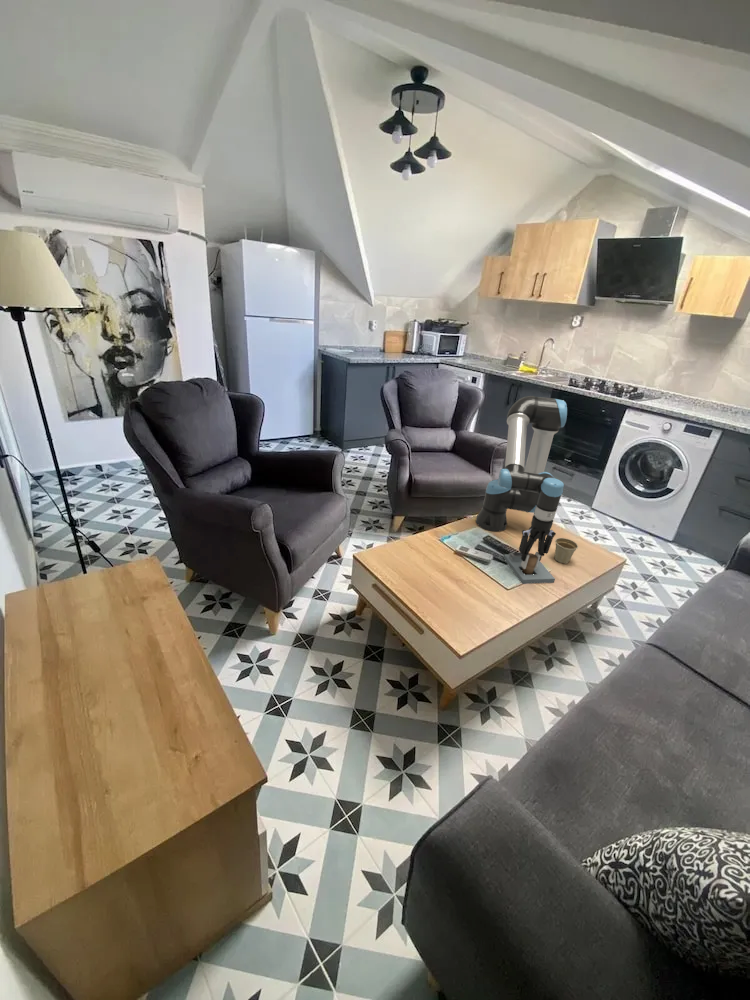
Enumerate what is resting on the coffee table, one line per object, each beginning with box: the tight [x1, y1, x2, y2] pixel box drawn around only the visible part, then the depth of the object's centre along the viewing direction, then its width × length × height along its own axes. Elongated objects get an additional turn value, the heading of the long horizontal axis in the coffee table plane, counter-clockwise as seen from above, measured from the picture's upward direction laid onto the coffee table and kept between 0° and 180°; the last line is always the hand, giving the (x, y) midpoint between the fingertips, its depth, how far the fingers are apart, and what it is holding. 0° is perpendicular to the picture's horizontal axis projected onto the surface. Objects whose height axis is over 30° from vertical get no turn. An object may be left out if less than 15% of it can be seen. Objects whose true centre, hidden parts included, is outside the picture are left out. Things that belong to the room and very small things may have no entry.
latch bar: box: [509, 551, 522, 562], centre depth 178 cm, size 3×8×3 cm, turn 99°
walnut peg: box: [521, 552, 538, 575], centre depth 170 cm, size 4×4×8 cm
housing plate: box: [503, 553, 556, 585], centre depth 175 cm, size 18×14×2 cm
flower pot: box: [554, 537, 579, 564], centre depth 184 cm, size 9×9×9 cm
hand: (528, 566), depth 171 cm, fingers closed on walnut peg, 4 cm apart
